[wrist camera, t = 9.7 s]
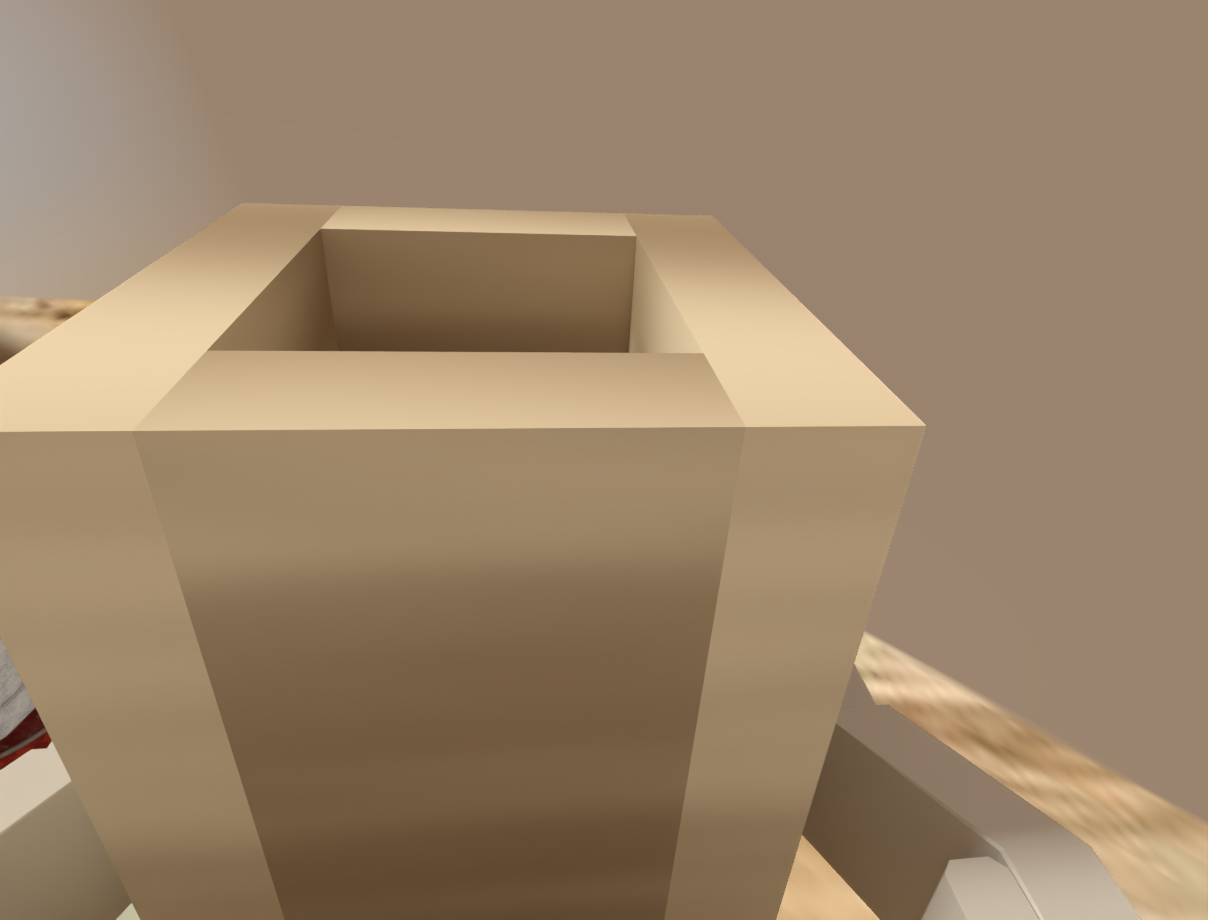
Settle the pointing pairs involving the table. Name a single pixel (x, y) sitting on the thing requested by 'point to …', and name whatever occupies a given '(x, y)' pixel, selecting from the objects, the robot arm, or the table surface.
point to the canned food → (17, 715)
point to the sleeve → (446, 564)
